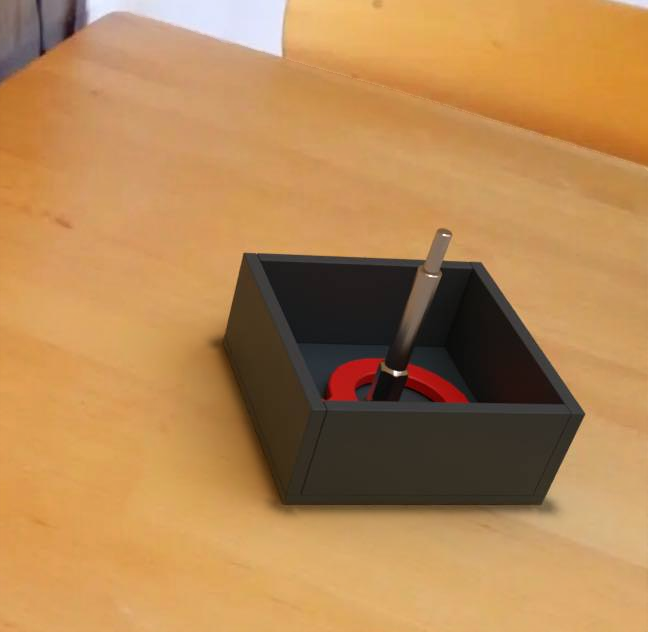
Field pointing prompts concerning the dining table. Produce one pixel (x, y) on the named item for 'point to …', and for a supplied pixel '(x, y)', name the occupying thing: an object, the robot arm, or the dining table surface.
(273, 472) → the tote
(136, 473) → the dining table surface
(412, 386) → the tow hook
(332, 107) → the dining table surface
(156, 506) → the dining table surface
